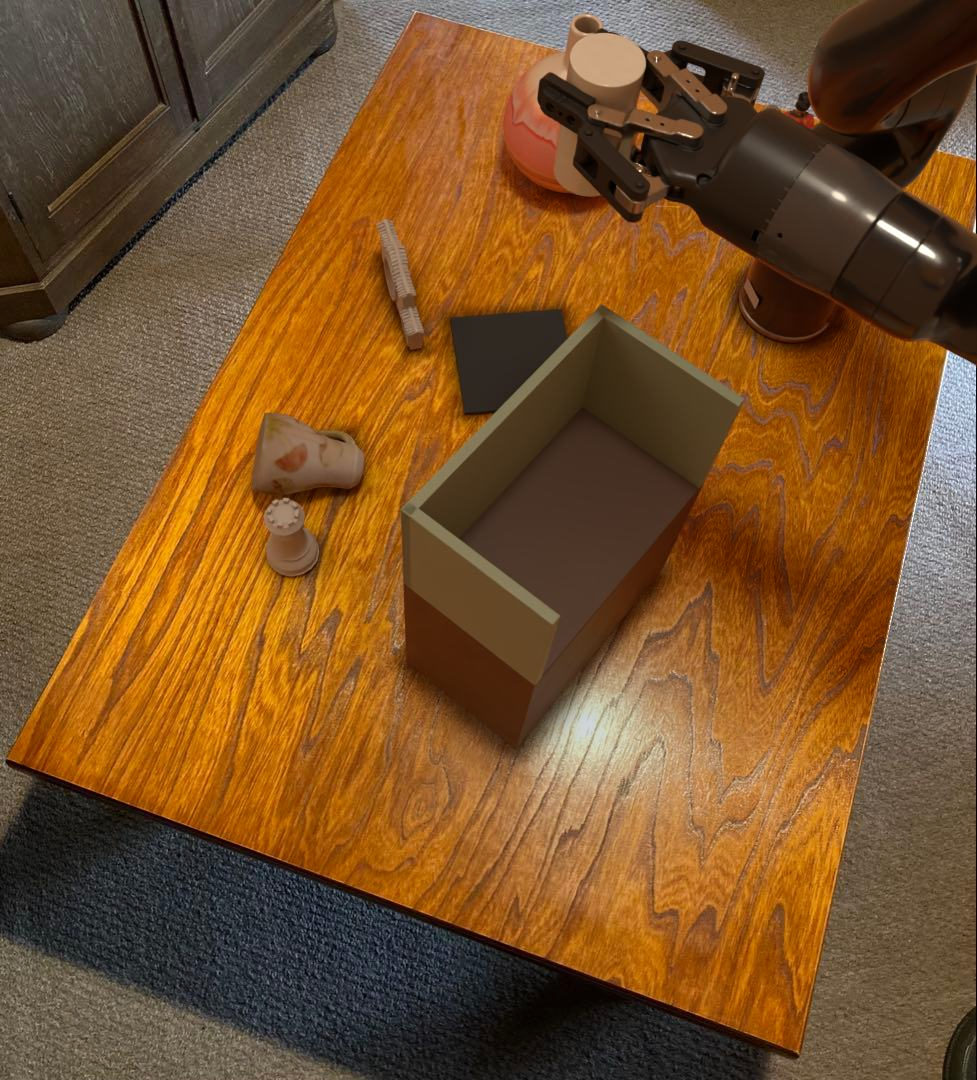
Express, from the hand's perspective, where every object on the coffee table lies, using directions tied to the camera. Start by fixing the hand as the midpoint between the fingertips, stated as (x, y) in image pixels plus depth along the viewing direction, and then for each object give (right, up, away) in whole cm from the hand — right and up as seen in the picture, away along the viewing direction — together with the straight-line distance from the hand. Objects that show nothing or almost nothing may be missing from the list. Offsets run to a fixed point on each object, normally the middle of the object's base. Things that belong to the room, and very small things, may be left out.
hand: (568, 65), depth 67 cm
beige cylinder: (+2, -5, +6) cm, 7 cm away
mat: (-3, -12, +36) cm, 38 cm away
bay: (-1, -36, +25) cm, 43 cm away
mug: (-21, -23, +30) cm, 43 cm away
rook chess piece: (-22, -31, +26) cm, 46 cm away
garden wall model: (-14, -6, +39) cm, 41 cm away
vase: (+3, +10, +48) cm, 49 cm away
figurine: (+24, +8, +48) cm, 55 cm away
